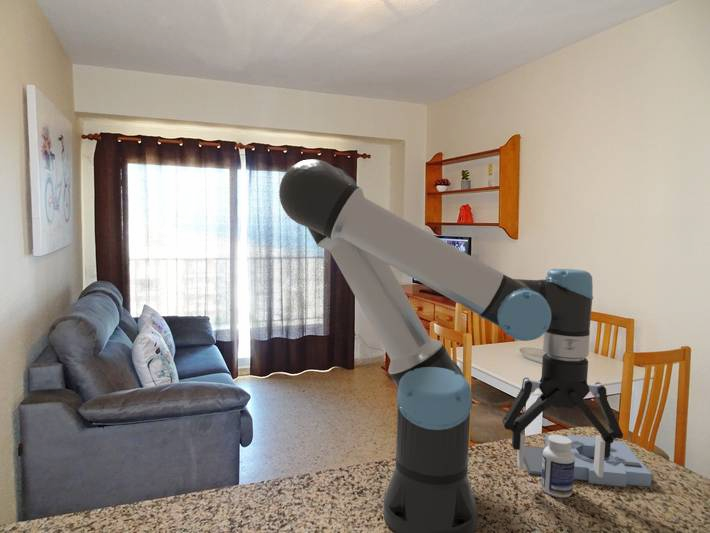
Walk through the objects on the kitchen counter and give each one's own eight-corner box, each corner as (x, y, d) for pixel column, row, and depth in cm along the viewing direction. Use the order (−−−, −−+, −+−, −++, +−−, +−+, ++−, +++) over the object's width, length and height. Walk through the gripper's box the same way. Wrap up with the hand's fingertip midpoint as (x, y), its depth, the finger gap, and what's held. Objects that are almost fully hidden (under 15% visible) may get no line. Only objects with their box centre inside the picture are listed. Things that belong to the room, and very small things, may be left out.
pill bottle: (579, 493, 89) (582, 442, 88) (559, 501, 86) (563, 448, 85) (553, 480, 93) (556, 430, 92) (534, 487, 91) (537, 436, 90)
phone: (560, 480, 94) (561, 475, 94) (528, 477, 95) (528, 472, 95) (546, 452, 106) (547, 447, 106) (518, 449, 107) (518, 444, 107)
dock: (562, 480, 93) (563, 466, 93) (544, 443, 109) (544, 431, 109) (653, 489, 91) (654, 475, 90) (621, 450, 106) (621, 438, 106)
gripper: (496, 356, 86) (490, 473, 88) (649, 366, 82) (640, 487, 84) (491, 346, 93) (486, 453, 95) (631, 354, 89) (624, 466, 91)
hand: (558, 469), depth 89 cm, fingers open, 13 cm apart
